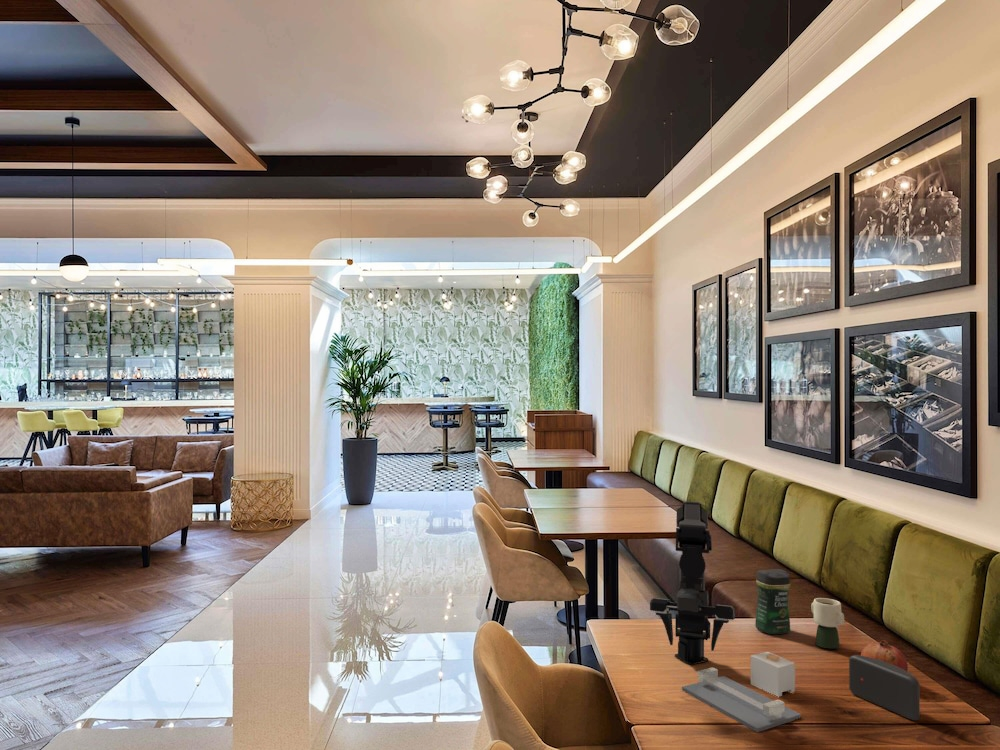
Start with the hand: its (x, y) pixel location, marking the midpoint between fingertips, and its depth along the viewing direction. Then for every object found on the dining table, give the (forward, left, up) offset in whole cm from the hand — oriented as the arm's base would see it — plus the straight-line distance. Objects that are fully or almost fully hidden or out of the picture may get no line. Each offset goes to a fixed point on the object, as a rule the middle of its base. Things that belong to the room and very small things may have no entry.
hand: (691, 647), depth 149 cm
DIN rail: (-10, +5, -12) cm, 17 cm away
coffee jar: (-58, -24, -13) cm, 64 cm away
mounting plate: (-10, +5, -12) cm, 17 cm away
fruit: (-53, +13, -13) cm, 56 cm away
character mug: (-61, -8, -13) cm, 63 cm away
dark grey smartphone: (-39, +21, -13) cm, 46 cm away
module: (-24, +3, -13) cm, 27 cm away
